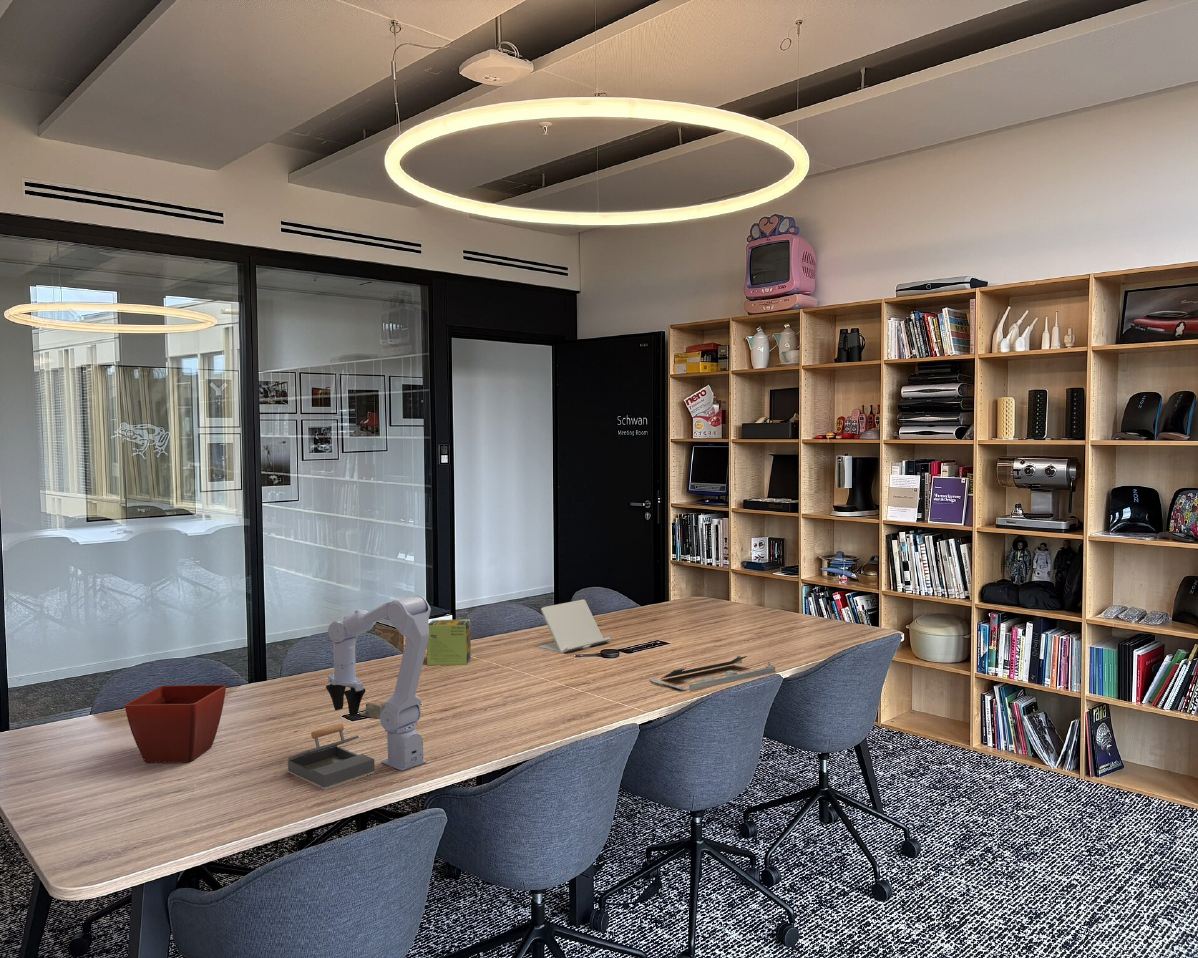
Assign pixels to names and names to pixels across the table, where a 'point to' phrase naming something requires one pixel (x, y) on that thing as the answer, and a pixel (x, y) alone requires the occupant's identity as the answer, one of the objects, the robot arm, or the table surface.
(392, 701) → the robot arm
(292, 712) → the table surface
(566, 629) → the tablet stand
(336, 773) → the charcoal shallow open tray
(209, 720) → the plant pot
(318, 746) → the grill press
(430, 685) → the table surface
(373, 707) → the packaged product
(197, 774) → the table surface
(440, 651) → the protein box
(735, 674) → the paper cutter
